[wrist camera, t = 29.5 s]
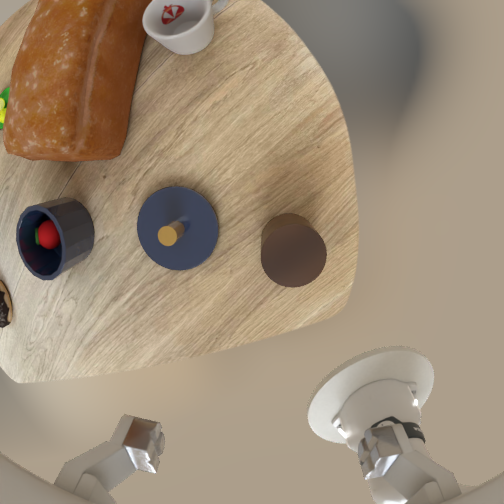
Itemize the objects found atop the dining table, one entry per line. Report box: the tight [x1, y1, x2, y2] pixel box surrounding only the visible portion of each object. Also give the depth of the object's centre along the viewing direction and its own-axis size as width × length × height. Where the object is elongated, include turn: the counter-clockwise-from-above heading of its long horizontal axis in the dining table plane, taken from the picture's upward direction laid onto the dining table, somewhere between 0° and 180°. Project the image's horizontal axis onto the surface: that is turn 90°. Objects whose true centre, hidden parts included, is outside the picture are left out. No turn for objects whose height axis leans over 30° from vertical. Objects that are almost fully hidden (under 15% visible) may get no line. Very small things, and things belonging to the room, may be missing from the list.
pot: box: [16, 197, 94, 280], centre depth 34 cm, size 10×10×8 cm
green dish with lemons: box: [0, 87, 10, 129], centre depth 30 cm, size 8×8×3 cm
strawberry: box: [35, 220, 61, 249], centre depth 35 cm, size 4×4×5 cm
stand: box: [261, 214, 327, 287], centre depth 34 cm, size 7×7×7 cm
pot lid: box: [137, 186, 219, 270], centre depth 35 cm, size 11×11×5 cm
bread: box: [3, 0, 152, 162], centre depth 23 cm, size 14×26×16 cm, turn 172°
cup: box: [142, 0, 229, 55], centre depth 25 cm, size 11×8×8 cm
